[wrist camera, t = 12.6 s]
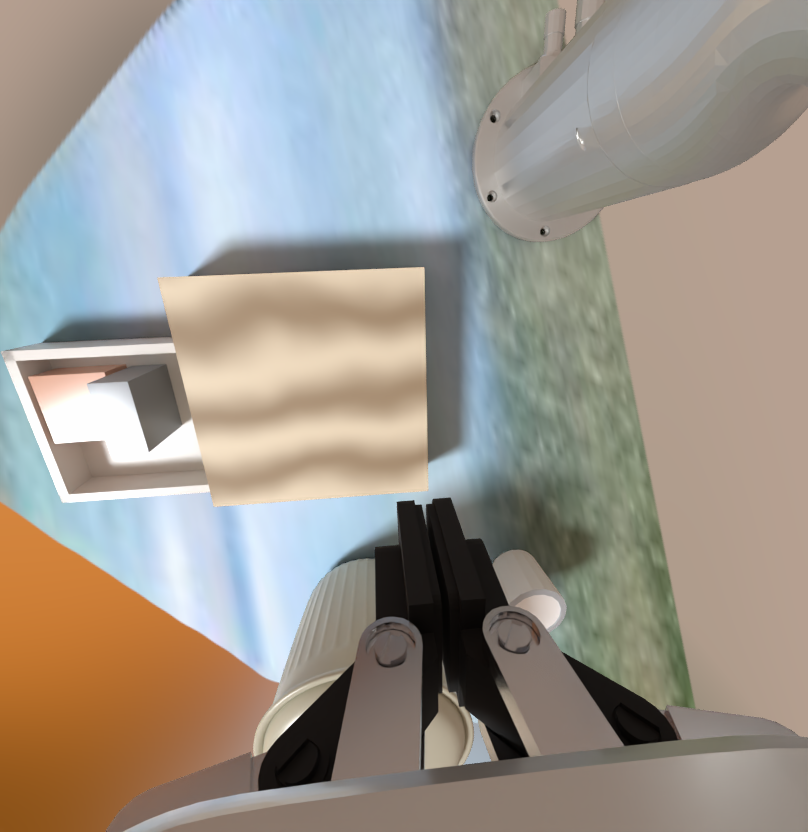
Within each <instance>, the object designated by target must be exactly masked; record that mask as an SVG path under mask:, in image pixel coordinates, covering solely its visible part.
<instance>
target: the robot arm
mask: <svg viewBox="0 0 808 832" xmlns="http://www.w3.org/2000/svg"><path fill="white" fill-rule="evenodd" d="M565 19H566V10H565V9H562V8H558V9H554V10H551V11H549V12H548V13H547V14H546V16H545V27H544V55H542V56H541V57H540V58H539V61H538V62H537V63H536V64H534V65H532V66H530V67H528V68H525V69H524V70H522V71H521V72H519V73H518V74H517V75H515V76H514V77H512V78H511V79H510V80H509V81H508V82H507V83H506V84H505V85H504V86H503V87H502V88H501V89H500V90H499V91H498V93H497V94H496V96H495V97H494V98H493V100H492V101H491V103H490V104H489V106H488V108H487V110H486V112H485V113H484V115H483V117H482V119H481V122H480V125H479V127H478V130H477V133H476V136H475V142H474V147H473V154H472V172H473V179H474V186H475V189H476V192H477V195H478V198H479V201H480V203H481V205H482V207H483V208H484V210H485V212H486V214H487V215H488V216H489V217H490V219H491V220H492V221H493V222H494V224H495V225H497V226H498V227H499V228H500V229H502V230H503V231H504V232H505V233H507V234H509V235H511V236H513V237H515V238H517V239H521V240H525V241H529V242H546V241H553V240H557V239H560V238H563V237H567V236H569V235H571V234H573V233H575V232H577V231H578V230H580V229H582V228H583V227H584V226H585V225H587V224H588V223H589V222H591V221H592V220H593V219H594V218H595V217H596V215H597V214H598V213H599V212H600V211H601V210H602V209H603V208H604V207H606V206H610V205H613V204H617V203H620V202H624V201H628V200H631V199H635V198H638V197H642V196H646V195H649V194H653V193H657V192H660V191H664V190H668V189H671V188H675V187H679V186H682V185H685V184H689V183H691V182H694V181H698V180H701V179H705V178H709V177H711V176H714V175H716V174H719V173H722V172H724V171H727V170H729V169H731V168H733V167H735V166H737V165H739V164H741V163H743V162H745V161H747V160H748V159H750V158H751V157H753V156H754V155H756V154H757V153H759V152H760V151H761V150H763V149H764V148H766V147H767V146H768V145H769V144H771V143H772V142H773V141H774V140H776V139H777V138H778V137H779V136H781V135H782V134H783V133H784V132H785V131H786V130H787V129H788V128H789V127H790V126H791V125H792V124H793V123H794V122H795V121H796V120H797V119H798V118H799V117H800V116H801V114H802V113H803V112H804V111H805V110H806V109H807V108H808V0H577V8H576V19H575V29H576V34H575V36H574V38H573V39H572V40H571V41H570V42H569V43H568V44H567V46H566V47H565V48H564V49H563V50H562V44H563V36H564V31H565ZM490 117H493V118H494V119H495V122H494V123H492V122H491V121H490ZM488 195H490V196H491V197H492V200H491V201H488V200H487V196H488ZM541 229H542V230H543V234H542V235H541V234H540V230H541ZM397 517H398V536H399V545H395V546H383V547H375V605H376V621H374V622H373V623H372V624H370V625H369V626H368V627H367V628H366V629H365V630H364V632H363V633H362V635H361V638H360V640H359V643H358V648H357V653H356V658H355V662H354V663H353V664H352V665H351V666H350V667H349V668H348V669H347V670H346V671H345V672H344V673H343V674H342V675H341V676H340V677H339V678H338V679H337V680H336V681H335V682H334V683H333V684H332V685H331V686H330V687H329V688H328V689H327V690H326V691H325V692H324V693H323V694H322V695H321V696H320V697H319V698H318V699H317V700H316V701H315V702H314V703H313V704H312V705H311V706H310V707H309V708H308V709H307V710H306V711H305V712H304V713H303V714H302V715H301V716H300V717H299V718H298V719H297V720H296V721H295V722H294V723H293V724H292V725H291V726H290V727H289V728H288V729H287V730H286V731H285V732H284V733H283V734H282V735H281V736H280V737H279V738H278V739H277V740H276V741H275V742H274V743H273V745H272V746H271V747H270V748H269V750H268V751H267V752H265V753H262V754H260V755H257V756H254V757H252V754H251V752H249V753H246V754H244V755H241V756H239V757H236V758H233V759H230V760H228V761H225V762H222V763H219V764H217V765H214V766H211V767H209V768H206V769H203V770H201V771H198V772H195V773H192V774H189V775H187V776H184V777H181V778H179V779H176V780H174V781H170V782H168V783H165V784H162V785H160V786H157V787H154V788H152V789H149V790H147V791H146V792H144V793H142V794H140V795H138V796H136V797H135V798H134V799H132V800H131V801H130V802H129V803H128V804H127V805H126V806H125V807H124V808H123V809H121V810H120V811H119V813H118V814H117V816H116V817H115V818H114V820H113V821H112V822H111V824H110V825H109V827H108V828H107V830H106V832H808V738H807V737H800V736H798V735H797V734H796V733H795V732H793V731H792V730H790V729H788V728H786V727H784V726H783V725H781V724H779V723H777V722H774V721H771V720H767V719H764V718H759V717H751V716H743V715H736V714H728V713H721V712H714V711H706V710H699V709H692V708H684V707H677V706H669V705H667V706H666V709H665V710H658V709H657V708H656V707H655V706H653V705H652V704H651V703H649V702H648V701H646V700H645V699H644V698H642V697H640V696H638V695H637V694H635V693H633V692H631V691H630V690H628V689H626V688H624V687H623V686H621V685H619V684H617V683H616V682H614V681H612V680H610V679H609V678H607V677H605V676H603V675H602V674H600V673H598V672H596V671H595V670H593V669H591V668H589V667H588V666H586V665H584V664H582V663H581V662H579V661H577V660H575V659H574V658H572V657H570V656H568V655H567V654H565V653H563V652H561V651H560V649H559V648H558V646H557V645H556V643H555V642H554V640H553V639H552V637H551V636H550V634H549V633H548V631H547V630H546V628H545V627H544V625H543V624H542V623H541V622H540V620H539V619H538V618H537V617H536V616H534V615H533V614H532V613H530V612H529V611H527V610H524V609H522V608H519V607H514V606H509V604H508V601H507V599H506V597H505V594H504V592H503V589H502V587H501V584H500V582H499V580H498V577H497V575H496V572H495V570H494V567H493V565H492V563H491V560H490V558H489V555H488V553H487V550H486V548H485V546H484V543H483V541H482V540H481V539H467V540H465V538H464V535H463V532H462V529H461V526H460V523H459V520H458V518H457V515H456V512H455V509H454V506H453V503H452V500H451V498H439V499H433V500H432V504H427V505H426V522H427V528H426V524H425V519H424V514H423V510H422V505H415V502H414V500H413V501H400V502H397ZM442 660H443V666H444V671H445V677H446V682H447V687H448V691H449V693H450V692H456V694H457V699H458V704H459V707H465V709H466V710H467V711H468V712H470V713H471V714H472V715H473V716H475V717H476V718H477V719H478V723H479V727H480V732H481V735H482V737H483V740H484V742H485V745H486V748H487V750H488V753H489V756H490V759H491V761H492V762H483V763H475V764H466V765H458V766H450V767H441V768H433V769H425V730H426V729H427V727H428V726H429V725H430V723H431V722H432V720H433V719H434V718H435V716H436V715H437V713H438V694H441V693H442V691H443V688H442Z"/></svg>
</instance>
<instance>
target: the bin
mask: <svg viewBox="0 0 808 832" xmlns="http://www.w3.org/2000/svg"><path fill="white" fill-rule="evenodd" d="M1 353H2V356H3V358H4V361H5V363H6V366H7V368H8V371H9V373H10V375H11V378H12V380H13V383H14V385H15V388H16V390H17V393H18V395H19V398H20V400H21V402H22V405H23V407H24V410H25V412H26V415H27V417H28V420H29V422H30V425H31V427H32V429H33V432H34V434H35V437H36V439H37V442H38V444H39V447H40V449H41V452H42V454H43V456H44V459H45V461H46V464H47V466H48V469H49V471H50V474H51V476H52V479H53V481H54V484H55V486H56V488H57V491H58V493H59V496H60V498H61V501H62V503H67V502H81V501H94V500H108V499H122V498H136V497H150V496H163V495H177V494H191V493H205V492H210V489H209V485H208V481H207V477H206V473H205V469H204V465H203V461H202V457H201V452H200V448H199V444H198V440H197V436H196V432H195V428H194V424H193V420H192V416H191V412H190V408H189V404H188V400H187V396H186V392H185V388H184V384H183V380H182V376H181V372H180V367H179V363H178V359H177V355H176V351H175V347H174V343H173V339H172V336H171V337H150V338H129V339H109V340H88V341H68V342H47V343H38V344H33V345H29V346H24V347H19V348H15V349H10V350H6V351H1ZM118 364H126V366H127V368H128V367H130V366H138V365H156V364H167V368H168V372H169V376H170V379H171V383H172V387H173V391H174V395H175V399H176V402H177V406H178V410H179V414H180V418H181V421H182V426H181V427H180V428H178V429H177V430H176V431H175V432H174V433H172V434H171V435H170V436H169V437H167V438H166V439H165V440H164V441H163V442H161V443H160V444H159V445H158V446H156V447H155V448H154V449H153V450H151V451H150V452H149V453H134V454H120V455H111V454H110V451H109V448H108V446H107V443H106V440H97V441H83V442H69V443H54V440H53V438H52V435H51V433H50V430H49V428H48V425H47V423H46V420H45V418H44V415H43V413H42V410H41V408H40V405H39V403H38V400H37V398H36V395H35V393H34V390H33V388H32V385H31V383H30V380H29V378H28V377H29V376H32V375H36V374H39V373H42V372H45V371H49V370H52V369H55V368H69V367H85V366H102V365H118Z"/></svg>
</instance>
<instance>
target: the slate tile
mask: <svg viewBox="0 0 808 832" xmlns="http://www.w3.org/2000/svg"><path fill="white" fill-rule="evenodd" d="M87 387H88V390H89V393H90V396H91V399H92V402H93V405H94V408H95V410H96V413H97V416H98V419H99V422H100V425H101V428H102V431H103V434H104V437H105V440H106V443H107V446H108V448H109V451H110V454H111V455H120V454H134V453H149V452H150V451H151V450H153V449H154V448H155V447H156V446H158V445H159V444H160V443H161V442H163V441H164V440H165V439H166V438H167V437H169V436H170V435H171V434H172V433H174V432H175V431H176V430H177V429H178V428H180V427H181V426H182V421H181V418H180V414H179V410H178V406H177V402H176V399H175V395H174V391H173V387H172V383H171V379H170V376H169V372H168V368H167V364H156V365H138V366H130V367H128V368H125V369H123V370H120V371H118V372H115V373H113V374H110V375H108V376H105V377H103V378H100V379H98V380H95V381H92V382H90V383H87Z"/></svg>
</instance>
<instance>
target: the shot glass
mask: <svg viewBox="0 0 808 832" xmlns="http://www.w3.org/2000/svg"><path fill="white" fill-rule="evenodd" d="M492 565H493V567H494V570H495V572H496V575H497V577H498V580H499V582H500V584H501V587H502V589H503V592H504V594H505V597H506V599H507V601H508V604H509V606H514V607H519V608H522V609H524V610H527V611H529V612H530V613H532V614H533V615H534V616H536V617H537V618H538V619H539V620H540V622H541V623H542V624H543V625H544V627H545V628H546V630H547V631H548V633H549V632H551V631H552V630H553V629H555V628H556V627H557V626H559V624H560V623H561V622H562V620H563V619H564V617H565V613H566V608H567V607H566V604H565V601H564V598H563V597H562V596H561V594H560V593H559V592H558V590H557V589H556V587H555V586H554V585H553V583H552V582H551V581H550V579H549V578H548V576H547V575H546V574H545V572H544V571H543V570H542V568H541V567H540V565H539V564H538V563H537V561H536V560H535V559H534V557H533V556H532V555H531V554H529V553H528V552H526V551H523V550H510V551H507V552H505V553H502V554H501V555H500V556H499V557H497V558H496V559H495V561H494V562H493V564H492Z"/></svg>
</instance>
